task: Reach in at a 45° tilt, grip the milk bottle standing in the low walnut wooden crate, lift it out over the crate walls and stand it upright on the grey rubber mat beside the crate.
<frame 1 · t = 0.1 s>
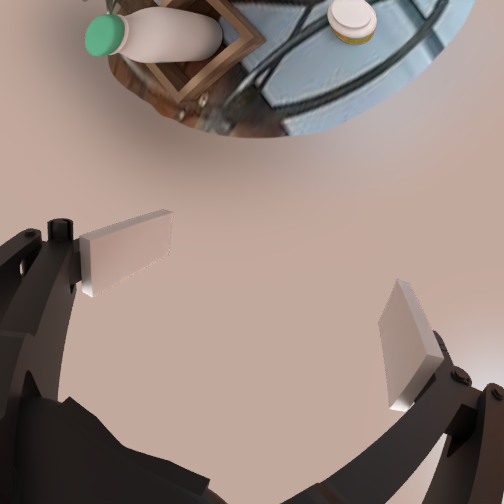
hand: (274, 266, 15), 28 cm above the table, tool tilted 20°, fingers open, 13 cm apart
supplement bottle: (353, 27, 25), on the table
walnut crate: (200, 38, 32), on the table
milk bottle: (201, 38, 32), resting in walnut crate
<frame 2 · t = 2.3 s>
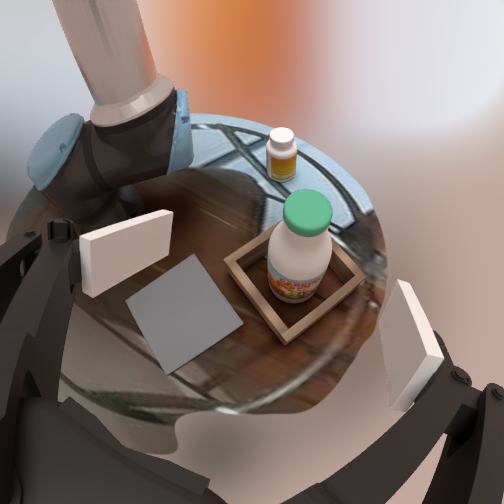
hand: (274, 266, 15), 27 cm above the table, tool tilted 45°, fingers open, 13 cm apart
supplement bottle: (281, 172, 53), on the table
rubber mat: (180, 313, 42), on the table
walnut crate: (293, 280, 43), on the table
milk bottle: (293, 280, 43), resting in walnut crate
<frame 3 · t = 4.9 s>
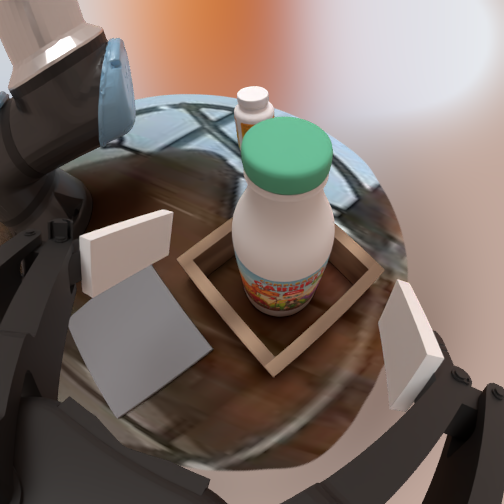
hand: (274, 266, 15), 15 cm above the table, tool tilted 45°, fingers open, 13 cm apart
supplement bottle: (256, 147, 41), on the table
rubber mat: (130, 336, 29), on the table
walnut crate: (279, 283, 31), on the table
milk bottle: (279, 284, 31), resting in walnut crate
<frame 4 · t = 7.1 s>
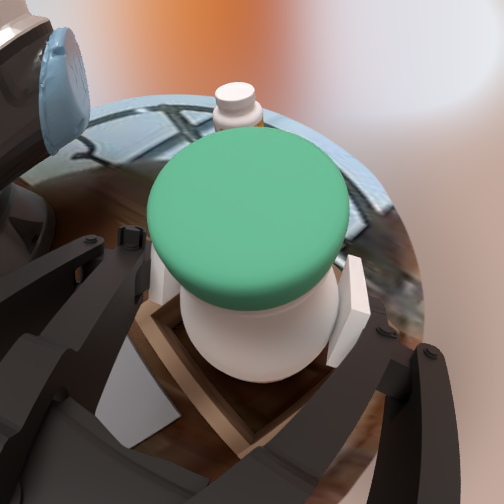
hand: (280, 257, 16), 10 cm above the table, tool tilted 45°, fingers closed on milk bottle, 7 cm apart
supplement bottle: (243, 157, 34), on the table
rubber mat: (90, 389, 22), on the table
walnut crate: (264, 339, 24), on the table
milk bottle: (264, 339, 24), resting in walnut crate, touching gripper
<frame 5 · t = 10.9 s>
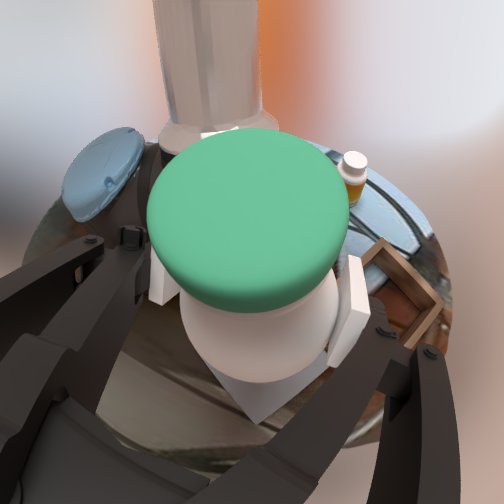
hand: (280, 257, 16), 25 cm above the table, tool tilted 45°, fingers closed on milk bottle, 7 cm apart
supplement bottle: (344, 196, 49), on the table
rubber mat: (264, 357, 38), on the table
walnut crate: (375, 311, 39), on the table
milk bottle: (264, 340, 24), point 16 cm above the table, touching gripper
when the fingers open (11 cm above the table, at t = 14.6 s): milk bottle stays where it is, resting on rubber mat.
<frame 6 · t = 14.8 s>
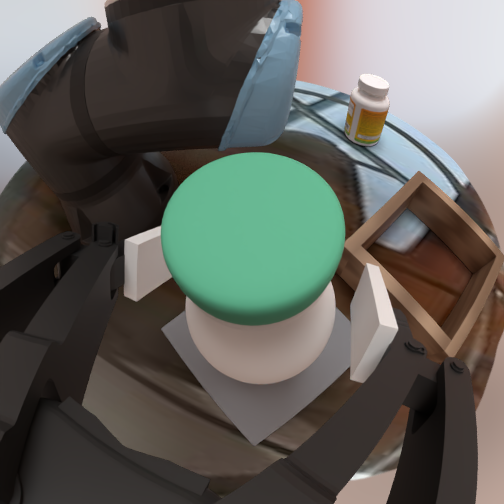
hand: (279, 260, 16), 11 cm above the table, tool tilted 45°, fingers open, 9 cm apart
supplement bottle: (361, 136, 37), on the table
rubber mat: (264, 341, 25), on the table
walnut crate: (418, 272, 27), on the table
milk bottle: (264, 342, 25), resting on rubber mat
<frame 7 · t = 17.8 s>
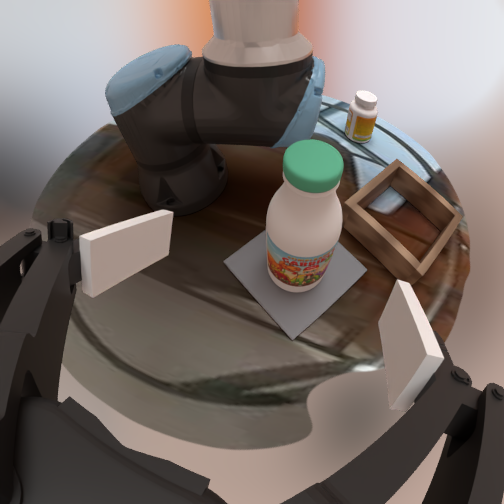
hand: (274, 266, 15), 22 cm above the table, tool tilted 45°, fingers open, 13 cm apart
supplement bottle: (357, 135, 50), on the table
rubber mat: (296, 267, 38), on the table
walnut crate: (398, 227, 40), on the table
milk bottle: (296, 267, 38), resting on rubber mat
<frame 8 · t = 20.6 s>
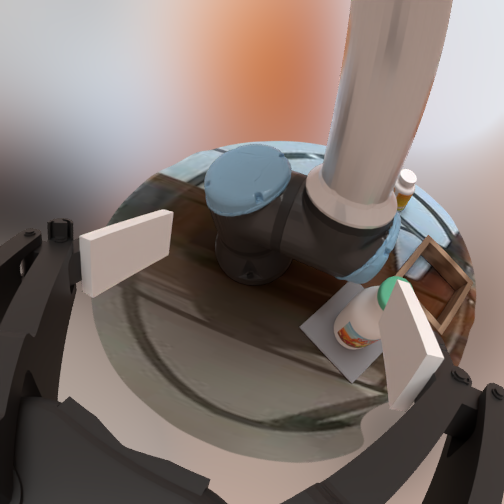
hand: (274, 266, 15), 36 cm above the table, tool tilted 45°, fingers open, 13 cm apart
supplement bottle: (394, 203, 59), on the table
rubber mat: (352, 329, 47), on the table
walnut crate: (425, 290, 49), on the table
milk bottle: (353, 329, 47), resting on rubber mat
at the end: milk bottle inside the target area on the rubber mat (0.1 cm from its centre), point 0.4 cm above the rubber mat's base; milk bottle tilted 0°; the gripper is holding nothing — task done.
